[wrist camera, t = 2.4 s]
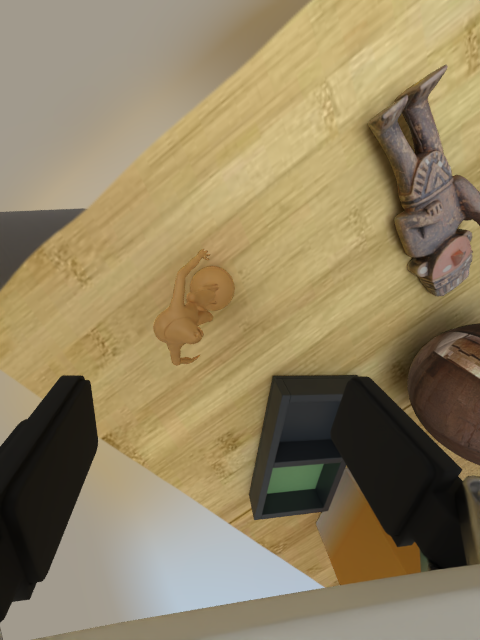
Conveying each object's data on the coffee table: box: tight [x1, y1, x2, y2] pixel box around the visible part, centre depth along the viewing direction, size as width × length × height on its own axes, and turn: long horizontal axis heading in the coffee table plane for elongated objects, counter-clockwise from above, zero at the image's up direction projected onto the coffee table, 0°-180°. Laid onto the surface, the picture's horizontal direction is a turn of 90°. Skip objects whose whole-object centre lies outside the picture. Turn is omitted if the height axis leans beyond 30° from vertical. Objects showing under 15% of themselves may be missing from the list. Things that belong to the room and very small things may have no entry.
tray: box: [249, 375, 358, 520], centre depth 35 cm, size 12×22×4 cm, turn 173°
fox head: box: [316, 468, 421, 585], centre depth 37 cm, size 18×21×20 cm
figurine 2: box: [368, 65, 480, 296], centre depth 24 cm, size 7×5×20 cm
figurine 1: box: [153, 249, 235, 365], centre depth 19 cm, size 8×6×12 cm
